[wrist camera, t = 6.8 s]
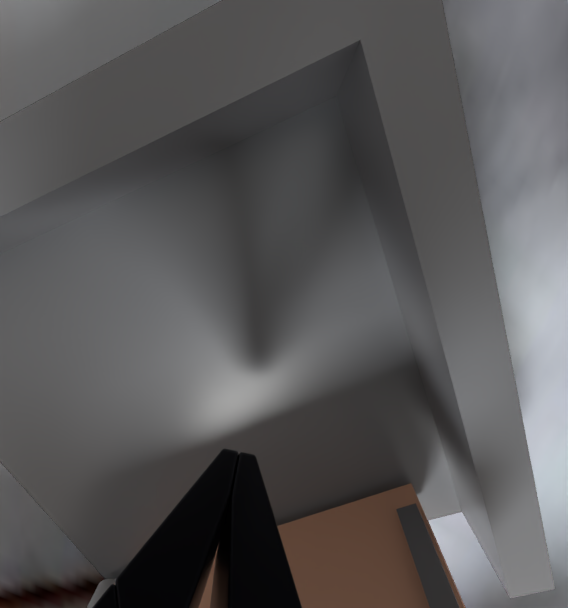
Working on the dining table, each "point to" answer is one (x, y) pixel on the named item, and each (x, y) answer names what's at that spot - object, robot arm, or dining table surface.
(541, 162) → the dining table surface
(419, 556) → the door
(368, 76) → the housing
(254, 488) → the robot arm
